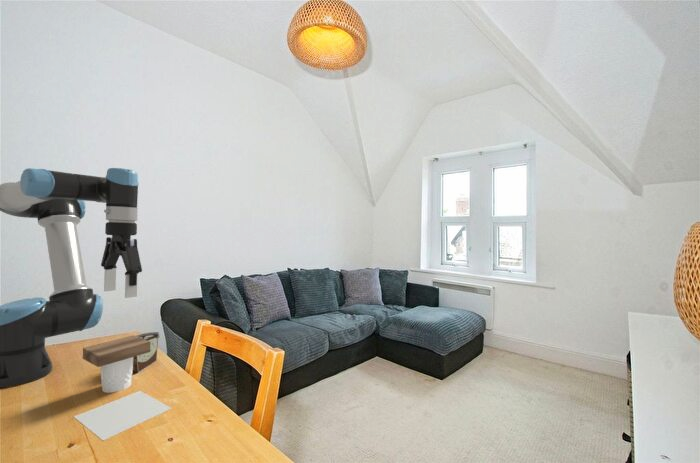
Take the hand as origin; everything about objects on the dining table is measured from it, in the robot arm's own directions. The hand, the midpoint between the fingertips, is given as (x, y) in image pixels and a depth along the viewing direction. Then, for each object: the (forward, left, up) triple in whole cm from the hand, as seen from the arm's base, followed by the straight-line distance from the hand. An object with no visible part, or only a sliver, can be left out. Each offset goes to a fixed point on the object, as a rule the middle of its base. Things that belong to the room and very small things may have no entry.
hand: (120, 293), depth 94 cm
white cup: (+2, -1, -28) cm, 28 cm away
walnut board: (+2, -1, -18) cm, 18 cm away
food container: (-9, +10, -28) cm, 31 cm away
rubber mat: (+18, -6, -27) cm, 33 cm away
